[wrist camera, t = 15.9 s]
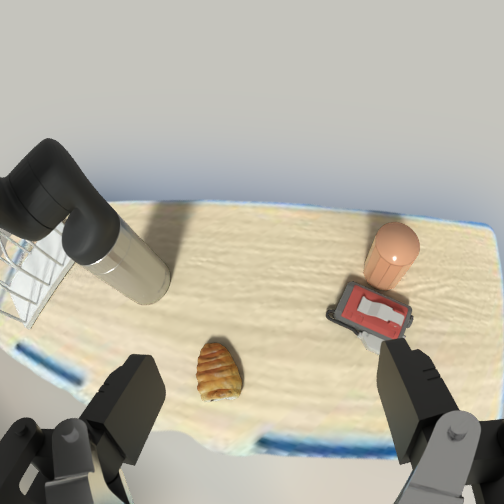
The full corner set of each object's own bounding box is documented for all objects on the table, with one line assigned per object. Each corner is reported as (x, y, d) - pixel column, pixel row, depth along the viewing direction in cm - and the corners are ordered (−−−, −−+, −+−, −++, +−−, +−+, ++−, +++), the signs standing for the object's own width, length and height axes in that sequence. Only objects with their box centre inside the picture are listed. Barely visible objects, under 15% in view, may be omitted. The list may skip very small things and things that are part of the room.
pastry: (194, 348, 45) (185, 344, 42) (234, 339, 45) (228, 335, 42) (205, 404, 41) (196, 404, 37) (246, 396, 40) (241, 397, 37)
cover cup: (361, 286, 45) (374, 260, 36) (365, 250, 47) (377, 218, 39) (399, 293, 43) (419, 268, 34) (401, 257, 46) (419, 226, 37)
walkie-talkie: (318, 329, 43) (427, 377, 36) (319, 323, 39) (438, 375, 32) (341, 281, 46) (444, 327, 39) (344, 271, 42) (456, 321, 35)
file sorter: (60, 219, 66) (24, 185, 52) (86, 249, 59) (43, 212, 45) (11, 290, 59) (-29, 265, 45) (30, 330, 52) (-19, 308, 38)
